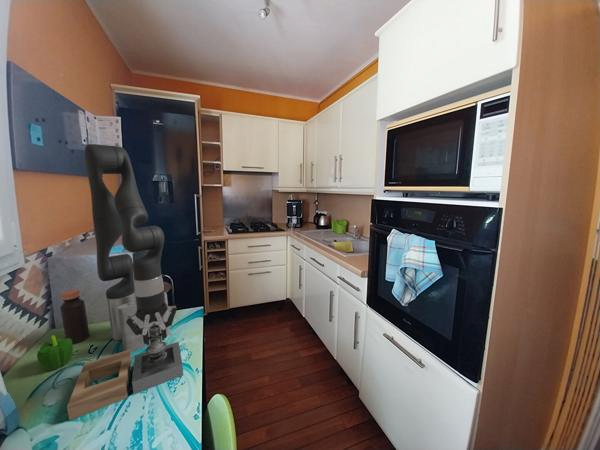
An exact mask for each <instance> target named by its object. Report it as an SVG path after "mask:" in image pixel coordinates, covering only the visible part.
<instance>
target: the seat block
mask: <svg viewBox="0 0 600 450" xmlns="http://www.w3.org/2000/svg"><path fill="white" fill-rule="evenodd" d="M165 352H166V353H167V356H166V357H165V359H163V360H162V361H160V362H157V363H149V362H148V358H149V356H148V354H147V353H146V351H145V352H142V353H138V354H135V355H134V359H133V360H134V362H133V370H132V379H131V385H132V393H133V395H136V394H139V393H140V392H143V391H146V390H148V389H151V388H154V387H156V386H159V385H162V384H163V383H167V382H169V381H172V380H174V379H177V378H179V377H182V376H184V367H183V362H182V361H183V359H182V355H181V349H180V343H179V341H175V342H173V343H170V344H167V346H166V349H165Z"/></svg>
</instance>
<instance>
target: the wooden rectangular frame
mask: <svg viewBox="0 0 600 450" xmlns="http://www.w3.org/2000/svg"><path fill="white" fill-rule="evenodd" d="M132 363H133V359H132V352H131V350H127V351H124V350H123V351H121V352H116V353H114V354H110V355H107V356H104V357H101V358H98V359H94V360H92V361H87V362H84V364H83V366H82V368H81V371H80V373H79V375H78V379H77V380H76V384H75V386H74V388H73V391H72V393H71V396H70V397H69V401H68V403H67V406H66V410H67V414H68V419H69V421H72V420H74V419H77V418H80V417H82V416H85V415H87V414H90V413H92V412H95V411H97V410H100V409H103V408H105V407H108V406H110V405H113V404H115V403H118V402H121V401H123V400H126V399H128V393H129V386H130V385H129V384H130V377H131V371H132V370H131V368H132ZM117 374H118V377H115V378H112V379H108V380H105V381H103V382H100V383H97V384H94V385H91V384H92V383H93V382H95V381H96V382H97V381H99V380H102V379H105V378H109V377H111V376H114V375H117ZM92 381H93V382H92ZM90 383H91V384H90ZM89 386H90V387H89Z"/></svg>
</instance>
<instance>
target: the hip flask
mask: <svg viewBox="0 0 600 450" xmlns="http://www.w3.org/2000/svg"><path fill="white" fill-rule="evenodd" d="M164 294H165V303H166V304H167V306H169V302H168V294H167V292H165V291H164ZM136 311H137V304H136V301H133V302H130V303H128V304H124V305H121V306H119V307H118V313H119V320H120V328H121V335H122V340H121V342H122V347H123V351H127V350H131V353H134V352H136V351H138V350H141V349H143V348H147V347H148V346H150V340H149V345H147V344H144V341H143V335H141V334H139V335H135V334H134V332H133V331H132V330H131V328H130V327H129V326H128V324H127V323H126V320H127V317H128V316H132V315H134V314H136ZM168 317H169V312H168V310H167V311H166V312H165V314H164V315H163V319H164V321H165V322H166V321H168ZM153 323H155V325H159V323H158V321H156V322H152V323H149V324H148V329H147V331H148V333H149V328H150V327H151V326H153ZM136 324H137V325H138V326H139V328H143V324H144V322H143V321H141V320H140V319H139V318H136ZM159 327H160V325H159ZM171 331H172V330H171V326H168V327H167V328H166V334H167V337H168V336H170V335H171V333H172V332H171ZM160 333H161V327H160ZM149 337H150V333H149ZM161 340H162V336H161Z"/></svg>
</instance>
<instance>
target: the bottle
mask: <svg viewBox="0 0 600 450" xmlns="http://www.w3.org/2000/svg"><path fill="white" fill-rule="evenodd" d="M80 297H81V293H80V290H79V289H70V290H66V291H64V292H62V293H61V300H62V301H63V303H62V304H61V306H60V313H61V319H62V324H63V329H64V336H65V339H67V338H70V339H71V340H72V345H76V344H79V343H82V342H83V341H85V340H87V339H88V338H89V337H90V329H89V323H88V316H87V311H86V305H85V304H86V303H85V300H83V299H81V298H80Z"/></svg>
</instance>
